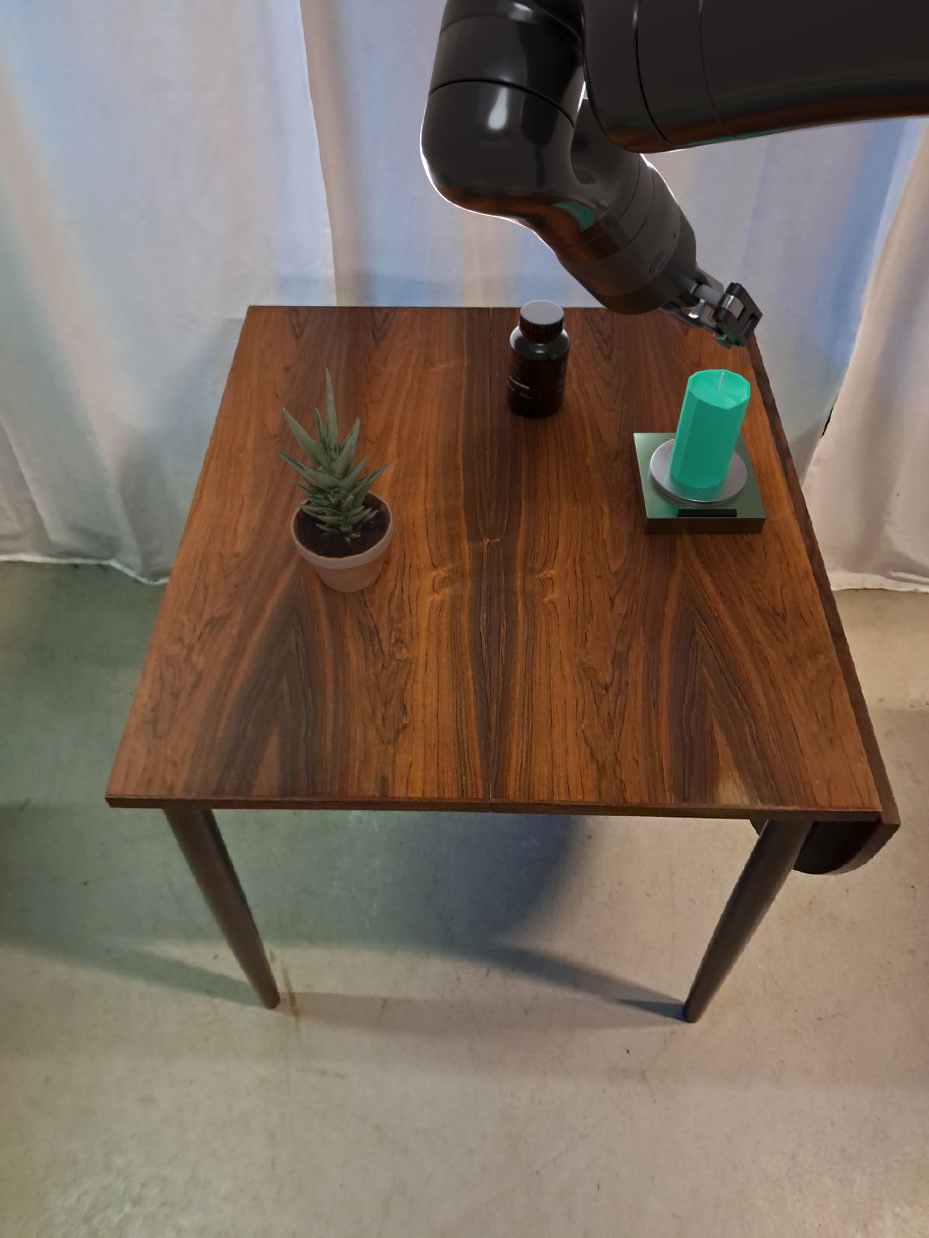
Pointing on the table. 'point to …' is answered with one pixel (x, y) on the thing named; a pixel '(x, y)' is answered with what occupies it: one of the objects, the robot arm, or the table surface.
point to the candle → (709, 427)
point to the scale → (694, 493)
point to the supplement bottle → (538, 360)
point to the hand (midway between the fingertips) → (685, 315)
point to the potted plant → (338, 507)
